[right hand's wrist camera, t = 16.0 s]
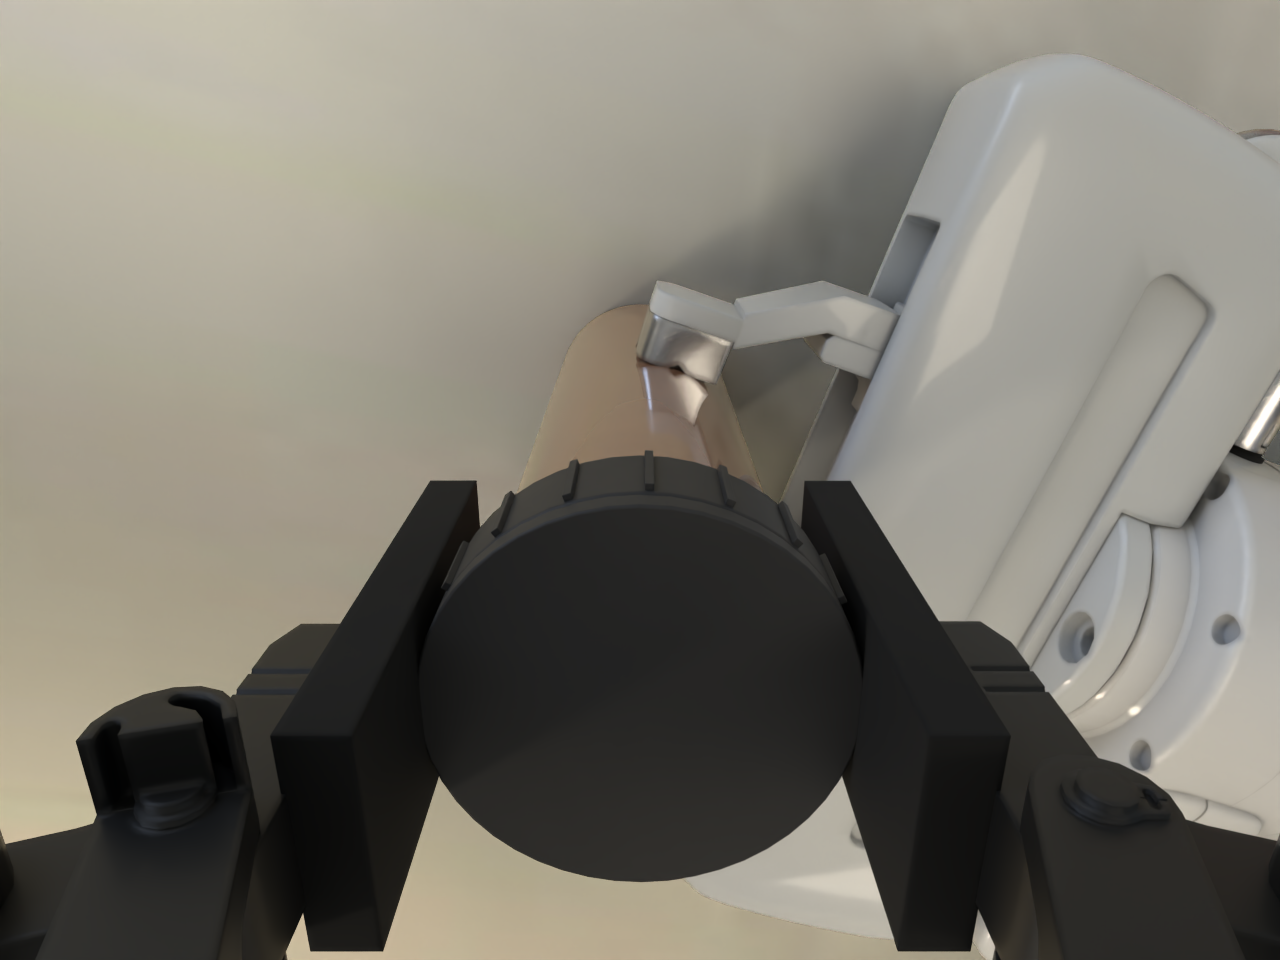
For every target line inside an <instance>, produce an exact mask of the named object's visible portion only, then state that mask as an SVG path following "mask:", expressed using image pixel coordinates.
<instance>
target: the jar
mask: <svg viewBox="0 0 1280 960" xmlns="http://www.w3.org/2000/svg"><path fill="white" fill-rule="evenodd" d="M647 308H648V305H641V304H636V305H627V306H622V307H618V308H615V309H612V310H610V311H607V312H605V313H603V314H601V315H599V316H598V317H596V318H595V319H593V320H592V321H591V322H589V323H588V324H587V325H586V326H585V327H584V328H583V329H582V330H581V331H580V332H579V333H578V335H577V336H576V337H575V339H574V340H573V342H572V344H571V345H570V347H569V349H568V351H567V354H566V356H565V359H564V362H563V364H562V367H561V370H560V373H559V376H558V378H557V381H556V384H555V387H554V390H553V392H552V395H551V398H550V401H549V404H548V406H547V409H546V412H545V415H544V418H543V420H542V423H541V426H540V429H539V432H538V434H537V437H536V440H535V443H534V446H533V448H532V451H531V454H530V457H529V460H528V462H527V465H526V468H525V471H524V473H523V476H522V479H521V482H520V485H519V487H518V490H517V493H519V492H520V491H522V490H523V489H525V488H526V487H528V486H529V485H531V484H533V483H534V482H536V481H538V480H540V479H542V478H545V477H547V476H549V475H551V474H553V473H555V472H557V471H560V470H563V469H566V468H568V467H569V463H570V461H572V460H575V459H578V462H579V464H581V463H584V462H589V461H594V460H600V459H605V458H610V457H622V456H637V455H642V456H645V450H652V451H653V456H660V457H670V458H676V459H681V460H687V461H692V462H696V463H699V464H703V465H706V466H709V467H712V468H715V469H717V468H718V466H719V465H723V466H726V467H727V470H728V473H729V474H730V475H732V476H734V477H736V478H739V479H741V480H743V481H745V482H747V483H748V484H750V485H751V486H753V487H754V488H756V489H758V490H759V491H761V492H762V493H764V492H763V489H762V487H761V484H760V481H759V478H758V475H757V473H756V470H755V467H754V464H753V462H752V459H751V456H750V453H749V450H748V448H747V445H746V442H745V439H744V436H743V434H742V431H741V428H740V425H739V423H738V420H737V417H736V414H735V411H734V409H733V406H732V403H731V400H730V397H729V395H728V392H727V389H726V386H725V384H724V381H723V378H722V375H720V377H719V380H718V382H717V385H714V384H711V383H708V382H705V381H702V380H699V379H696V378H693V377H691V376H689V375H686V374H685V373H684V371H683V370H682V369H681V367H680V366H679V365H676V366H673V367H669V368H666V367H661V366H657V365H654V364H651V363H649V362H647V361H645V360H643V359H641V358H639V357H638V356H637V355H636V352H635V351H636V343H637V340H638V337H639V333H640V330H641V327H642V324H643V321H644V318H645V314H646V311H647ZM517 493H516V494H517Z"/></svg>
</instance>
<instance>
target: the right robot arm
mask: <svg viewBox="0 0 1280 960" xmlns="http://www.w3.org/2000/svg"><path fill="white" fill-rule="evenodd" d="M479 529H480V522H479V508H478V494H477V481H430V482H429V484H428V485H427V487H426V488H425V490H424V492H423V493H422V495H421V496H420V498H419V500H418V501H417V503H416V504H415V506H414V508H413V509H412V511H411V512H410V514H409V515H408V517H407V519H406V520H405V522H404V523H403V525H402V527H401V528H400V530H399V531H398V533H397V535H396V536H395V538H394V539H393V541H392V543H391V544H390V546H389V547H388V549H387V550H386V552H385V554H384V555H383V557H382V558H381V560H380V562H379V563H378V565H377V566H376V568H375V570H374V571H373V573H372V574H371V576H370V578H369V579H368V581H367V582H366V584H365V585H364V587H363V589H362V590H361V592H360V593H359V595H358V597H357V598H356V600H355V601H354V603H353V605H352V606H351V608H350V609H349V611H348V613H347V614H346V616H345V617H344V619H343V620H342V622H341V624H300V625H299V626H297V627H296V628H294V629H293V630H291V631H290V632H288V633H287V634H285V635H284V636H282V637H281V638H279V639H278V640H276V641H275V642H273V643H272V644H271V645H270V646H269V647H268V648H267V650H266V651H265V652H264V654H263V655H262V656H261V658H260V659H259V660H258V662H257V663H256V664H255V666H254V667H253V668H252V674H248V675H247V676H246V678H245V679H244V680H243V682H242V683H241V685H240V686H239V687H238V689H237V694H236V695H232V697H231V698H230V697H229V696H228V695H227V694H226V693H224V692H223V691H220V690H216V689H211V688H207V687H202V686H195V687H174V688H169V689H165V690H161V691H157V692H152V693H148V694H144V695H142V696H139V697H137V698H135V699H132V700H130V701H127V702H125V703H123V704H120V705H118V706H116V707H114V708H112V709H111V710H109V711H108V712H107V713H105V714H104V715H102V716H101V717H99V718H98V719H96V720H95V721H93V722H92V723H91V724H90V725H89V726H88V727H87V728H86V730H85V731H84V732H83V733H82V734H81V736H80V737H79V738H78V739H77V740H76V744H77V747H78V751H79V754H80V758H81V761H82V765H83V768H84V772H85V775H86V779H87V782H88V786H89V789H90V792H91V796H92V799H93V803H94V806H95V810H96V813H97V816H96V819H95V821H94V823H93V824H90V825H87V826H83V827H80V828H76V829H72V830H68V831H63V832H58V833H54V834H49V835H45V836H40V837H36V838H31V839H27V840H22V841H18V842H13V843H8V844H5V842H4V839H3V836H2V833H1V831H0V960H287V955H286V950H287V948H288V945H289V943H290V941H291V939H292V936H293V934H294V932H295V930H296V927H297V925H298V923H299V920H300V918H301V916H302V914H304V920H305V925H306V930H307V935H308V941H309V946H310V951H383V950H384V947H385V944H386V941H387V937H388V934H389V931H390V928H391V925H392V922H393V919H394V915H395V912H396V909H397V906H398V903H399V900H400V897H401V894H402V890H403V887H404V884H405V881H406V878H407V875H408V872H409V868H410V865H411V862H412V859H413V856H414V853H415V850H416V847H417V843H418V840H419V837H420V834H421V831H422V828H423V825H424V822H425V818H426V815H427V812H428V809H429V806H430V803H431V800H432V796H433V793H434V790H435V787H436V784H437V781H438V778H439V775H438V773H437V771H436V769H435V767H434V765H433V763H432V761H431V760H430V757H429V754H428V751H427V749H426V744H425V737H424V728H423V719H422V710H421V701H420V691H419V681H418V664H419V659H420V655H421V652H422V648H423V645H424V641H425V638H426V635H427V633H428V630H429V628H430V626H431V624H432V622H433V619H434V617H435V615H436V612H437V610H438V608H439V605H440V603H441V601H442V599H443V596H444V594H445V592H446V590H444V589H442V588H441V587H442V585H443V582H444V580H445V578H446V576H447V574H448V571H449V569H450V567H451V565H452V563H453V560H454V558H455V556H456V554H457V552H458V549H459V547H460V545H461V544H462V542H463V541H466V542H467V543H470V541H471V540H472V538H473V537H474V535H475V534H476V532H477V531H478V530H479ZM801 529H802V530H803V531H804V532H805V534H806V535H807V537H808V538H809V540H810V541H811V543H812V544H813V546H814V547H815V549H816V550H817V552H818V554H819V556H820V555H822V554H824V553H825V554H826V556H827V558H828V560H829V563H830V565H831V567H832V569H833V571H834V574H835V576H836V578H837V580H838V582H839V585H840V587H841V589H842V591H843V593H844V596H845V598H846V600H847V602H846V603H844V604H842V608H843V610H844V612H845V615H846V617H847V620H848V622H849V624H850V626H851V628H852V631H853V633H854V635H855V639H856V642H857V646H858V649H859V652H860V656H861V659H862V666H863V682H862V693H861V702H860V711H859V720H858V729H857V738H856V745H855V749H854V751H853V754H852V757H851V759H850V761H849V763H848V765H847V767H846V769H845V771H844V773H843V775H842V778H843V781H844V784H845V787H846V791H847V794H848V797H849V800H850V803H851V806H852V809H853V812H854V816H855V819H856V822H857V825H858V828H859V831H860V834H861V838H862V841H863V844H864V847H865V850H866V853H867V856H868V859H869V863H870V866H871V869H872V872H873V875H874V878H875V881H876V884H877V888H878V891H879V894H880V897H881V900H882V903H883V906H884V910H885V913H886V916H887V919H888V922H889V925H890V928H891V931H892V935H893V938H894V941H895V944H896V947H897V950H898V951H971V946H972V940H973V935H974V930H975V924H976V919H977V914H978V910H979V912H980V914H981V916H982V919H983V921H984V923H985V925H986V928H987V930H988V932H989V934H990V937H991V939H992V941H993V943H994V946H995V950H994V955H993V960H1280V834H1279V837H1278V840H1277V841H1276V840H1271V839H1266V838H1262V837H1257V836H1253V835H1248V834H1244V833H1239V832H1235V831H1230V830H1225V829H1221V828H1216V827H1212V826H1207V825H1204V824H1200V823H1197V822H1193V821H1190V820H1186V819H1185V817H1184V815H1183V813H1182V812H1181V810H1180V809H1179V807H1178V806H1177V805H1176V803H1175V802H1174V800H1173V799H1172V797H1171V796H1170V795H1169V794H1168V793H1167V792H1166V791H1164V790H1163V789H1162V788H1160V787H1159V786H1158V785H1157V784H1155V783H1154V782H1153V781H1151V780H1150V779H1149V778H1148V777H1146V776H1144V775H1142V774H1140V773H1138V772H1136V771H1134V770H1132V769H1129V768H1127V767H1125V766H1123V765H1121V764H1119V763H1116V762H1112V761H1108V760H1104V759H1101V758H1098V757H1097V756H1096V754H1095V753H1094V752H1093V750H1092V749H1091V748H1090V746H1089V745H1088V744H1087V742H1086V741H1085V740H1084V738H1083V737H1082V736H1081V734H1080V733H1079V732H1078V730H1077V729H1076V728H1075V726H1074V725H1073V724H1072V722H1071V721H1070V720H1069V718H1068V717H1067V716H1066V714H1065V713H1064V712H1063V710H1062V709H1061V708H1060V706H1059V705H1058V704H1057V702H1056V701H1055V700H1054V698H1053V697H1052V696H1051V694H1050V693H1049V692H1045V686H1044V685H1043V683H1042V682H1041V681H1040V679H1039V678H1038V677H1037V675H1036V674H1035V673H1034V671H1030V666H1029V665H1028V663H1027V662H1026V661H1025V659H1024V658H1023V657H1022V655H1021V654H1020V653H1019V651H1018V650H1017V649H1016V647H1015V646H1014V645H1013V643H1012V642H1011V641H1009V640H1008V639H1006V638H1005V637H1003V636H1002V635H1000V634H999V633H997V632H996V631H994V630H993V629H991V628H990V627H988V626H987V625H985V624H984V623H982V622H981V621H939V620H938V619H937V617H936V616H935V614H934V613H933V611H932V609H931V608H930V606H929V605H928V603H927V601H926V600H925V598H924V597H923V595H922V593H921V592H920V590H919V589H918V587H917V586H916V584H915V582H914V581H913V579H912V578H911V576H910V574H909V573H908V571H907V570H906V568H905V566H904V565H903V563H902V562H901V560H900V558H899V557H898V555H897V554H896V552H895V551H894V549H893V547H892V546H891V544H890V543H889V541H888V539H887V538H886V536H885V535H884V533H883V531H882V530H881V528H880V527H879V525H878V524H877V522H876V520H875V519H874V517H873V516H872V514H871V512H870V511H869V509H868V508H867V506H866V504H865V503H864V501H863V500H862V498H861V496H860V495H859V493H858V492H857V490H856V489H855V487H854V485H853V484H852V482H851V481H804V494H803V507H802V521H801Z"/></svg>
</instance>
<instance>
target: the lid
mask: <svg viewBox="0 0 1280 960" xmlns="http://www.w3.org/2000/svg"><path fill="white" fill-rule="evenodd" d="M441 588H442V589H444V590H446V592H445V594H444V596H443V599H442V601H441V603H440V605H439V608H438V610H437V612H436V615H435V617H434V619H433V622H432V624H431V626H430V628H429V630H428V633H427V635H426V638H425V641H424V645H423V648H422V652H421V655H420V659H419V664H418V681H419V691H420V701H421V710H422V719H423V728H424V737H425V744H426V749H427V751H428V754H429V757H430V760H431V761H432V763H433V765H434V767H435V769H436V771H437V773H438V775H439V777H440V778H441V780H442V782H443V783H444V785H445V786H446V787H447V789H448V790H449V792H450V793H451V794H452V796H453V797H454V799H455V800H456V801H457V802H458V803H459V804H460V805H461V807H462V808H463V809H464V810H465V811H466V812H467V813H468V814H469V815H470V816H471V817H472V818H473V819H474V820H475V821H476V822H477V823H479V824H480V825H481V826H482V827H483V828H485V829H486V830H487V831H488V832H489V833H491V834H492V835H493V836H495V837H496V838H498V839H499V840H501V841H502V842H504V843H505V844H507V845H508V846H510V847H512V848H513V849H515V850H517V851H519V852H521V853H523V854H525V855H527V856H529V857H531V858H533V859H535V860H537V861H539V862H542V863H544V864H547V865H550V866H553V867H555V868H558V869H561V870H564V871H568V872H571V873H575V874H579V875H583V876H587V877H593V878H600V879H606V880H613V881H631V882H651V881H669V880H675V879H682V878H688V877H694V876H698V875H702V874H706V873H710V872H714V871H717V870H721V869H723V868H726V867H729V866H731V865H734V864H737V863H739V862H742V861H745V860H747V859H749V858H751V857H753V856H755V855H757V854H758V853H760V852H762V851H764V850H766V849H768V848H770V847H771V846H773V845H774V844H776V843H777V842H779V841H780V840H782V839H783V838H785V837H786V836H788V835H789V834H791V833H792V832H793V831H794V830H795V829H797V828H798V827H799V826H800V825H801V824H803V823H804V822H805V821H806V820H807V819H808V818H809V817H810V816H811V815H812V814H813V813H814V812H815V811H816V810H817V809H818V808H819V807H820V806H821V804H822V803H823V802H824V801H825V800H826V799H827V797H828V796H829V795H830V793H831V792H832V790H833V789H834V787H835V786H836V785H837V783H838V782H839V780H840V779H841V777H842V775H843V773H844V771H845V769H846V767H847V765H848V763H849V761H850V759H851V757H852V754H853V751H854V749H855V745H856V738H857V729H858V720H859V711H860V702H861V693H862V682H863V666H862V659H861V656H860V652H859V649H858V646H857V642H856V639H855V635H854V633H853V631H852V628H851V626H850V624H849V622H848V620H847V617H846V615H845V612H844V610H843V608H842V604H844V603H846V602H847V600H846V598H845V596H844V593H843V591H842V589H841V587H840V585H839V582H838V580H837V578H836V576H835V574H834V571H833V569H832V567H831V565H830V563H829V560H828V558H827V556H826V554H825V553H824V554H822V555H820V556H819V554H818V552H817V550H816V549H815V547H814V546H813V544H812V543H811V541H810V540H809V538H808V537H807V535H806V534H805V532H804V531H803V530H802V529H801V527H800V526H799V525H798V524H797V523H796V522H795V521H794V519H793V517H792V515H791V512H790V510H789V507H788V505H787V504H786V503H785V502H784V501H781V502H780V503H779V504H777V503H775V502H774V501H773V500H772V499H771V498H769V497H768V496H767V495H765V494H764V493H762V492H761V491H759V490H758V489H756V488H754V487H753V486H751V485H750V484H748V483H747V482H745V481H743V480H741V479H739V478H736V477H734V476H732V475H730V474H729V473H728V470H727V467H726V466H723V465H719V466H718V468H717V469H715V468H712V467H709V466H706V465H703V464H699V463H696V462H692V461H687V460H681V459H676V458H670V457H660V456H653V451H652V450H645V456H642V455H637V456H622V457H610V458H605V459H600V460H594V461H589V462H584V463H581V464H579V462H578V459H575V460H572V461H570V463H569V467H568V468H566V469H563V470H560V471H557V472H555V473H553V474H551V475H549V476H547V477H545V478H542V479H540V480H538V481H536V482H534V483H533V484H531V485H529V486H528V487H526V488H525V489H523V490H522V491H520V492H519V493H517V494H516V495H514V493H513V492H512V491H510V492H509V493H507V494H506V495H505V497H504V500H503V502H502V505H501V507H500V508H499V509H497V510H496V511H495V512H494V513H493V514H492V515H491V516H490V517H489V518H488V519H487V521H486V522H485V523H484V524H483V525H482V526H481V527H480V529H479V530H478V531H477V532H476V534H475V535H474V537H473V538H472V540H471V541H470V543H467V542H466V541H463V542H462V544H461V545H460V547H459V549H458V552H457V554H456V556H455V558H454V560H453V563H452V565H451V567H450V569H449V571H448V574H447V576H446V578H445V580H444V582H443V585H442V587H441Z"/></svg>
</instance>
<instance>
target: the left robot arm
mask: <svg viewBox="0 0 1280 960" xmlns="http://www.w3.org/2000/svg"><path fill="white" fill-rule="evenodd" d="M797 338H804V341H805V342H806V343H807V344H808V346H809V347H810V348H811V349H812V350H813V351H814V353H815V354H816V355H817V356H818V357H819V358H820V359H821V361H822V362H823V363H826V364H828V365H831V366H834V367H837V369H836V371H835V374H834V376H833V378H832V381H831V383H830V385H829V388H828V390H827V392H826V395H825V397H824V399H823V402H822V404H821V406H820V409H819V411H818V413H817V416H816V418H815V420H814V423H813V425H812V427H811V430H810V432H809V434H808V437H807V439H806V441H805V444H804V446H803V448H802V451H801V453H800V455H799V458H798V460H797V462H796V465H795V467H794V469H793V472H792V474H791V476H790V479H789V481H788V483H787V486H786V488H785V490H784V493H783V495H782V497H781V499H780V502H781V501H784V502H785V503H786V504H787V505H788V507H789V510H790V512H791V515H792V517H793V519H794V521H795V522H796V523H797V524H798V525H799V526H800V527H801V521H802V507H803V494H804V481H851V482H852V484H853V485H854V487H855V489H856V490H857V492H858V493H859V495H860V496H861V498H862V500H863V501H864V503H865V504H866V506H867V508H868V509H869V511H870V512H871V514H872V516H873V517H874V519H875V520H876V522H877V524H878V525H879V527H880V528H881V530H882V531H883V533H884V535H885V536H886V538H887V539H888V541H889V543H890V544H891V546H892V547H893V549H894V551H895V552H896V554H897V555H898V557H899V558H900V560H901V562H902V563H903V565H904V566H905V568H906V570H907V571H908V573H909V574H910V576H911V578H912V579H913V581H914V582H915V584H916V586H917V587H918V589H919V590H920V592H921V593H922V595H923V597H924V598H925V600H926V601H927V603H928V605H929V606H930V608H931V609H932V611H933V613H934V614H935V616H936V617H937V619H938V620H939V621H981V622H982V623H984V624H985V625H987V626H988V627H990V628H991V629H993V630H994V631H996V632H997V633H999V634H1000V635H1002V636H1003V637H1005V638H1006V639H1008V640H1009V641H1011V642H1012V643H1013V645H1014V646H1015V647H1016V649H1017V650H1018V651H1019V653H1020V654H1021V655H1022V657H1023V658H1024V659H1025V661H1026V662H1027V663H1028V665H1029V666H1030V671H1034V673H1035V674H1036V675H1037V677H1038V678H1039V679H1040V681H1041V682H1042V683H1043V685H1044V686H1045V692H1049V693H1050V694H1051V696H1052V697H1053V698H1054V700H1055V701H1056V702H1057V704H1058V705H1059V706H1060V708H1061V709H1062V710H1063V712H1064V713H1065V714H1066V716H1067V717H1068V718H1069V720H1070V721H1071V722H1072V724H1073V725H1074V726H1075V728H1076V729H1077V730H1078V732H1079V733H1080V734H1081V736H1082V737H1083V738H1084V740H1085V741H1086V742H1087V744H1088V745H1089V746H1090V748H1091V749H1092V750H1093V752H1094V753H1095V754H1096V756H1097V757H1098V758H1101V759H1104V760H1108V761H1112V762H1116V763H1119V764H1121V765H1123V766H1125V767H1127V768H1129V769H1132V770H1134V771H1136V772H1138V773H1140V774H1142V775H1144V776H1146V777H1148V778H1149V779H1150V780H1151V781H1153V782H1154V783H1155V784H1157V785H1158V786H1159V787H1160V788H1162V789H1163V790H1164V791H1166V792H1167V793H1168V794H1169V795H1170V796H1171V797H1172V799H1173V800H1174V802H1175V803H1176V805H1177V806H1178V807H1179V809H1180V810H1181V812H1182V813H1183V815H1184V817H1185V819H1186V820H1190V821H1193V822H1197V823H1200V824H1204V825H1207V826H1212V827H1216V828H1221V829H1225V830H1230V831H1235V832H1239V833H1244V834H1248V835H1253V836H1257V837H1262V838H1266V839H1271V840H1276V841H1277V840H1278V837H1279V834H1280V465H1277V464H1275V463H1272V462H1269V461H1267V460H1264V459H1263V458H1261V457H1262V455H1263V454H1264V453H1265V451H1266V449H1267V447H1268V446H1269V445H1270V443H1271V441H1272V440H1273V438H1274V437H1275V435H1276V434H1277V432H1278V430H1279V429H1280V131H1279V130H1274V129H1254V130H1248V131H1243V132H1239V133H1235V132H1234V131H1232V130H1231V129H1229V128H1227V127H1226V126H1224V125H1222V124H1221V123H1219V122H1218V121H1216V120H1214V119H1213V118H1211V117H1210V116H1208V115H1206V114H1205V113H1203V112H1201V111H1200V110H1198V109H1196V108H1194V107H1193V106H1191V105H1189V104H1187V103H1185V102H1184V101H1182V100H1180V99H1178V98H1176V97H1175V96H1173V95H1171V94H1169V93H1167V92H1165V91H1164V90H1162V89H1160V88H1158V87H1156V86H1154V85H1153V84H1151V83H1148V82H1146V81H1144V80H1142V79H1140V78H1138V77H1136V76H1134V75H1132V74H1130V73H1128V72H1126V71H1124V70H1122V69H1120V68H1117V67H1115V66H1113V65H1110V64H1108V63H1106V62H1103V61H1101V60H1098V59H1095V58H1092V57H1089V56H1086V55H1081V54H1070V53H1058V54H1046V55H1039V56H1034V57H1030V58H1027V59H1023V60H1020V61H1017V62H1014V63H1011V64H1009V65H1006V66H1004V67H1002V68H999V69H997V70H995V71H992V72H990V73H988V74H986V75H984V76H982V77H980V78H978V79H975V80H973V81H971V82H969V83H968V84H966V85H965V86H963V87H962V88H961V89H960V90H959V91H958V92H957V93H956V95H955V96H954V98H953V100H952V102H951V104H950V106H949V108H948V110H947V113H946V115H945V117H944V120H943V122H942V124H941V127H940V129H939V131H938V134H937V136H936V138H935V141H934V143H933V145H932V148H931V150H930V152H929V155H928V157H927V159H926V162H925V164H924V166H923V169H922V171H921V173H920V176H919V178H918V180H917V183H916V185H915V187H914V190H913V192H912V194H911V197H910V199H909V201H908V204H907V206H906V208H905V210H904V213H903V215H902V217H901V220H900V222H899V224H898V227H897V229H896V231H895V234H894V236H893V238H892V241H891V243H890V245H889V248H888V250H887V252H886V255H885V257H884V259H883V262H882V264H881V266H880V269H879V271H878V273H877V276H876V278H875V280H874V283H873V285H872V287H871V290H870V292H869V294H868V296H866V295H864V294H861V293H858V292H855V291H852V290H849V289H846V288H843V287H840V286H837V285H835V284H832V283H829V282H826V281H823V280H822V281H818V282H813V283H808V284H803V285H799V286H794V287H789V288H785V289H780V290H775V291H770V292H766V293H761V294H756V295H752V296H747V297H742V298H737V299H736V300H735V302H734V304H732V303H729V302H726V301H723V300H720V299H717V298H714V297H711V296H709V295H706V294H703V293H700V292H697V291H694V290H691V289H688V288H685V287H682V286H679V285H677V284H673V283H669V282H664V281H658V280H657V281H656V284H655V287H654V291H653V294H652V297H651V300H650V303H649V305H648V308H647V311H646V314H645V318H644V321H643V324H642V327H641V330H640V333H639V337H638V340H637V343H636V351H635V352H636V355H637V356H638V357H639V358H641V359H643V360H645V361H647V362H649V363H651V364H654V365H657V366H661V367H666V368H669V367H673V366H676V365H679V366H680V367H681V369H682V370H683V371H684V373H685V374H686V375H689V376H691V377H693V378H696V379H699V380H702V381H705V382H708V383H711V384H714V385H717V382H718V380H719V377H720V375H721V372H722V370H723V367H724V365H725V362H726V360H727V357H728V355H729V352H730V350H731V348H732V349H733V350H736V349H741V348H747V347H752V346H758V345H764V344H769V343H775V342H780V341H786V340H792V339H797ZM780 502H779V503H780ZM683 879H684V880H685V881H686V882H687V883H688V884H689V885H690V886H691V887H692V889H693V890H695V891H696V892H698V893H699V894H701V895H703V896H705V897H707V898H709V899H712V900H714V901H717V902H720V903H722V904H725V905H729V906H732V907H736V908H739V909H743V910H746V911H750V912H753V913H757V914H761V915H765V916H769V917H773V918H777V919H781V920H785V921H789V922H793V923H797V924H802V925H807V926H811V927H816V928H821V929H825V930H831V931H836V932H841V933H846V934H851V935H856V936H862V937H868V938H877V939H888V940H894V938H893V935H892V931H891V928H890V925H889V922H888V919H887V916H886V913H885V910H884V906H883V903H882V900H881V897H880V894H879V891H878V888H877V884H876V881H875V878H874V875H873V872H872V869H871V866H870V863H869V859H868V856H867V853H866V850H865V847H864V844H863V841H862V838H861V834H860V831H859V828H858V825H857V822H856V819H855V816H854V812H853V809H852V806H851V803H850V800H849V797H848V794H847V791H846V787H845V784H844V781H843V778H842V777H841V779H840V780H839V782H838V783H837V785H836V786H835V787H834V789H833V790H832V792H831V793H830V795H829V796H828V797H827V799H826V800H825V801H824V802H823V803H822V804H821V806H820V807H819V808H818V809H817V810H816V811H815V812H814V813H813V814H812V815H811V816H810V817H809V818H808V819H807V820H806V821H805V822H804V823H803V824H801V825H800V826H799V827H798V828H797V829H795V830H794V831H793V832H792V833H791V834H789V835H788V836H786V837H785V838H783V839H782V840H780V841H779V842H777V843H776V844H774V845H773V846H771V847H770V848H768V849H766V850H764V851H762V852H760V853H758V854H757V855H755V856H753V857H751V858H749V859H747V860H745V861H742V862H739V863H737V864H734V865H731V866H729V867H726V868H723V869H721V870H717V871H714V872H710V873H706V874H702V875H698V876H694V877H688V878H683ZM973 942H974V944H975V946H976V948H977V949H978V951H979V953H980V954H981V955H982V957H983V958H985V959H986V960H993V955H994V950H995V946H994V943H993V941H992V939H991V937H990V934H989V932H988V930H987V928H986V925H985V923H984V921H983V919H982V916H981V914H980V912H979V910H978V914H977V919H976V924H975V930H974V935H973Z"/></svg>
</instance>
